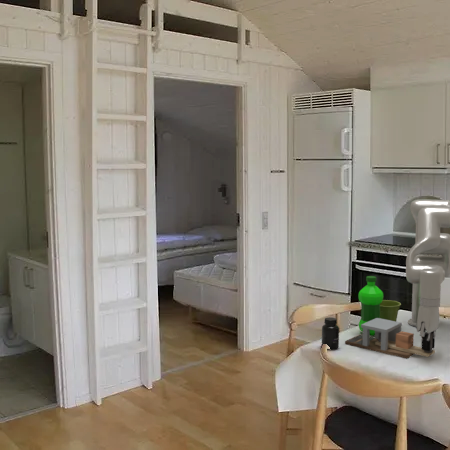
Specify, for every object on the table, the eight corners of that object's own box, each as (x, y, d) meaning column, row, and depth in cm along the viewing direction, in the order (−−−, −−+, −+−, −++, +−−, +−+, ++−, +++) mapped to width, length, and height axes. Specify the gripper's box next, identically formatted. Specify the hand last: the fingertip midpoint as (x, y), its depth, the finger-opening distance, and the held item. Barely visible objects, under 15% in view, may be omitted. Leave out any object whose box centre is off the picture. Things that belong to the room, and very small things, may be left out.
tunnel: (376, 337, 248) (376, 317, 247) (401, 343, 241) (401, 322, 240) (360, 345, 239) (361, 324, 238) (385, 351, 231) (386, 329, 230)
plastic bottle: (355, 335, 255) (356, 278, 252) (361, 329, 264) (362, 273, 261) (379, 338, 251) (381, 280, 248) (384, 331, 260) (385, 275, 257)
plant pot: (395, 323, 273) (396, 299, 271) (404, 331, 261) (404, 306, 259) (369, 324, 272) (370, 299, 271) (377, 331, 260) (377, 306, 259)
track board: (359, 337, 253) (359, 334, 253) (420, 350, 235) (420, 347, 235) (344, 343, 244) (345, 340, 244) (407, 358, 226) (407, 355, 226)
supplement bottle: (338, 351, 236) (339, 321, 234) (321, 350, 237) (321, 320, 236) (338, 345, 243) (339, 316, 241) (321, 344, 244) (322, 316, 242)
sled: (382, 341, 243) (382, 322, 242) (434, 352, 228) (435, 332, 227) (375, 344, 238) (375, 325, 237) (428, 357, 224) (428, 336, 223)
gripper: (429, 296, 233) (427, 341, 235) (410, 304, 221) (409, 352, 223) (448, 299, 228) (446, 345, 230) (429, 307, 216) (428, 356, 218)
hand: (428, 348), depth 227 cm, fingers closed on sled, 3 cm apart
